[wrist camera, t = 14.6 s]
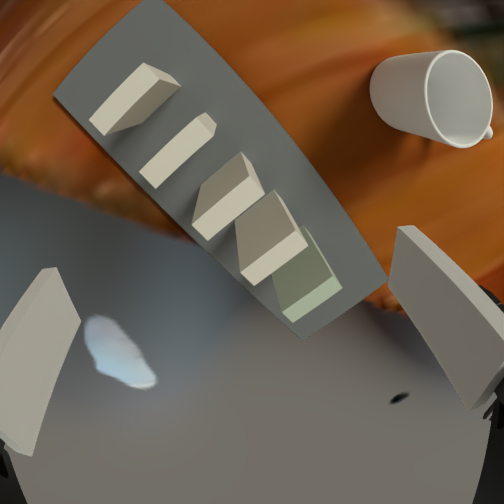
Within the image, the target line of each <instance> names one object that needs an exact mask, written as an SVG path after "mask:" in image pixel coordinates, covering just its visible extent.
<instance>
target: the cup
mask: <svg viewBox="0 0 504 504" xmlns="http://www.w3.org/2000/svg"><path fill="white" fill-rule="evenodd" d="M370 97H371V101H372V104H373V107H374V109H375V110H376V112H377V114H378V115H379V116H380V118H381V119H382V120H383V121H384V122H385V123H387V124H388V125H390V126H391V127H393V128H395V129H398V130H401V131H404V132H408V133H412V134H415V135H419V136H422V137H426V138H429V139H432V140H435V141H439V142H442V143H445V144H448V145H451V146H454V147H457V148H468V147H471V146H473V145H475V144H477V143H478V142H479V141H480V140H481V139H490V138H491V137H492V135H493V131H492V129H491V127H490V126H489V125H490V122H491V118H492V109H493V103H492V94H491V90H490V86H489V83H488V80H487V78H486V76H485V74H484V72H483V71H482V69H481V68H480V66H479V65H478V64H477V63H476V62H475V61H474V60H473V59H472V58H471V57H469V56H468V55H466V54H465V53H462V52H460V51H456V50H445V51H434V52H424V53H416V54H408V55H401V56H395V57H391V58H388V59H386V60H384V61H382V62H381V63H380V64H379V65H378V66H377V67H376V68H375V70H374V72H373V74H372V77H371V80H370Z"/></svg>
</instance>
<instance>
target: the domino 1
mask: <svg viewBox="0 0 504 504" xmlns="http://www.w3.org/2000/svg"><path fill="white" fill-rule="evenodd" d="M180 87H181V86H180V85H179V84H178V83H177V81H176V80H175V79H174V78H173V77H172V76H171V75H169V74H167V73H165V72H163V71H161V70H159V69H157V68H154V67H152V66H150V65H148V64H146V63H142V64H141V65H140V66H139V67H138V68H137V69H136V70H135V71H134V72H133V73H132V74H131V75H130V76H129V77H128V78H127V79H126V80H125V81H124V82H123V83H122V84H121V85H120V86H119V87H118V88H117V89H116V90H115V91H114V92H113V93H112V94H111V95H110V96H109V98H108V99H107V100H106V101H105V102H104V103H103V104H102V105H101V106H100V107H99V109H98V110H97V111H96V112H95V113H94V114H93V115H92V117H91V118H90V119H89V121H90V122H91V123H92V124H93V125H94V126H95V127H96V128H97V129H98V130H99V131H100V132H101V133H102V134H103V135H104V136H105V135H108V134H111V133H114V132H117V131H120V130H123V129H126V128H129V127H132V126H135V125H138V124H141V123H143V122H144V121H145V120H146V119H147V118H148V117H149V116H150V115H151V114H152V113H153V112H154V111H155V110H156V109H157V108H158V107H159V106H160V105H162V104H163V103H164V102H165V101H166V100H167V99H168V98H169V97H170V96H171V95H172V94H174V93H175V92H176V91H177V90H178V89H179V88H180Z"/></svg>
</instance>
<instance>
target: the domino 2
mask: <svg viewBox="0 0 504 504" xmlns="http://www.w3.org/2000/svg"><path fill="white" fill-rule="evenodd" d="M216 126H217V124H216V123H215V122H214V121H213V120H212V119H211V118H210V117H209V115H208V114H207V113H206V112H205V113H203V114H201V115H199V116H198V117H196V118H195V119H194V120H193V121H191V122H190V123H189V124H188V125H187V126H186V127H185V128H184V129H183V130H181V131H180V132H179V133H178V134H177V135H176V136H175V137H174V138H173V139H172V140H171V141H170V142H168V143H167V144H166V145H165V146H164V147H163V148H162V149H161V150H160V151H159V152H158V153H157V154H156V155H155V156H154V157H153V158H152V159H151V160H150V161H149V162H148V163H147V164H146V165H145V166H144V167H143V168H142V169H141V170H140V171H139V172H140V173H141V174H142V176H143V177H144V178H145V179H146V180H147V181H148V182H149V183H150V184H151V185H152V186H153V187H154V188H155V189H156V188H157V187H158V186H159V185H160V184H161V183H162V182H163V181H164V180H165V179H166V178H168V177H169V176H170V175H171V174H172V173H173V172H174V171H175V170H176V169H177V168H178V167H179V166H180V165H181V164H183V163H184V162H185V161H186V160H187V159H188V158H189V157H190V156H191V155H192V154H194V153H195V152H196V151H197V150H198V149H199V148H200V147H202V146H203V145H204V144H205V143H206V142H207V141H208V140H210V139H211V138H212V137H213V136H214V133H215V129H216Z"/></svg>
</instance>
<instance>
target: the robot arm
mask: <svg viewBox="0 0 504 504" xmlns="http://www.w3.org/2000/svg"><path fill="white" fill-rule="evenodd" d="M388 287H389V289H390V290H391V292H392V293H393V294H394V296H395V297H396V299H397V300H398V301H399V303H400V304H401V306H402V307H403V309H404V310H405V311H406V313H407V314H408V316H409V317H410V319H411V320H412V322H413V323H414V325H415V326H416V327H417V329H418V331H419V332H420V334H421V335H422V337H423V338H424V340H425V341H426V343H427V344H428V346H429V348H430V349H431V350H432V352H433V354H434V355H435V357H436V359H437V360H438V362H439V363H440V365H441V367H442V368H443V370H444V371H445V373H446V375H447V376H448V378H449V379H450V381H451V383H452V385H453V387H454V388H455V390H456V391H457V393H458V395H459V397H460V399H461V400H462V402H463V404H464V405H465V407H466V409H467V411H468V412H469V411H471V410H473V409H475V408H477V407H479V406H481V405H483V404H485V403H486V401H487V400H488V399H489V397H490V396H491V395H492V393H493V392H495V393H496V395H497V399H496V400H495V401H494V402H493V404H492V405H491V406H490V407H489V409H488V410H487V411H486V412H485V414H484V416H483V419H486V418H487V417H488V415H489V414H490V413H491V412H492V411H493V413H492V416H491V418H490V419H489V420H490V421H491V427H490V433H489V439H488V444H487V450H486V455H485V459H484V464H483V468H482V472H481V476H480V480H479V483H478V487H477V490H476V494H475V497H474V500H473V504H504V305H503V304H501V302H500V301H499V300H498V299H497V298H496V296H495V295H494V294H493V293H492V292H490V291H489V290H487V289H485V288H484V287H482V286H481V285H477V284H476V283H475V282H474V281H473V280H472V279H471V278H470V277H469V276H468V275H467V274H466V273H465V272H464V271H463V270H462V269H461V268H460V267H459V266H458V265H457V264H456V263H455V262H454V261H453V260H452V259H451V258H449V257H448V256H447V255H446V254H445V253H444V252H443V251H442V250H441V249H440V248H439V247H438V246H437V245H435V244H434V243H433V242H432V241H431V240H430V239H429V238H428V237H427V236H425V235H424V234H423V233H422V232H421V231H420V230H419V229H417V228H416V227H415V226H414V225H410V226H400V227H397V234H396V240H395V247H394V253H393V259H392V265H391V270H390V276H389V281H388ZM80 322H81V320H80V318H79V316H78V314H77V312H76V310H75V308H74V306H73V303H72V302H71V299H70V297H69V295H68V293H67V290H66V288H65V286H64V284H63V282H62V279H61V277H60V275H59V272H58V270H57V267H54V268H47V269H42V270H41V272H40V273H39V274H38V276H37V277H36V278H35V280H34V281H33V282H32V284H31V285H30V286H29V288H28V289H27V291H26V292H25V293H24V295H23V296H22V298H21V299H20V301H19V302H18V303H17V305H16V306H15V308H14V309H13V311H12V312H11V314H10V315H9V317H8V318H7V320H6V321H5V323H4V325H3V326H2V328H1V329H0V504H27V502H26V499H25V497H24V495H23V492H22V490H21V487H20V485H19V482H18V479H17V477H16V474H15V471H14V469H13V466H12V462H11V460H10V457H9V454H8V452H7V451H6V450H5V449H4V445H5V443H6V444H7V445H8V446H10V447H11V448H12V449H13V450H14V451H16V452H18V453H21V454H25V455H28V456H32V455H33V451H34V447H35V444H36V440H37V437H38V433H39V430H40V427H41V424H42V420H43V417H44V414H45V411H46V408H47V405H48V402H49V400H50V397H51V394H52V391H53V388H54V386H55V383H56V380H57V377H58V375H59V372H60V370H61V367H62V365H63V362H64V360H65V357H66V355H67V352H68V350H69V348H70V345H71V343H72V341H73V338H74V336H75V334H76V331H77V329H78V327H79V325H80Z"/></svg>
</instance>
